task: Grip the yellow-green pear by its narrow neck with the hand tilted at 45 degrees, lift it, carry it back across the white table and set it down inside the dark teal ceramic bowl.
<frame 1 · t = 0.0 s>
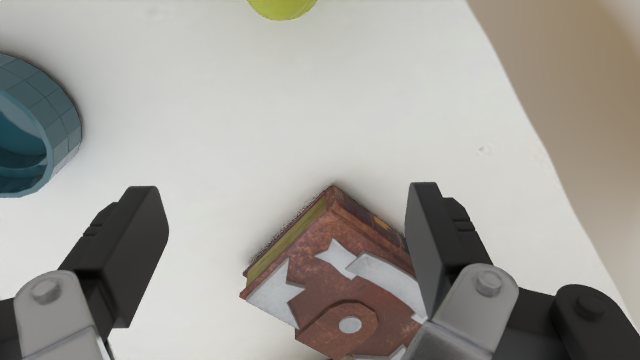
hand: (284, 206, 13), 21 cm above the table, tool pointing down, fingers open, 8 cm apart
bowl: (18, 112, 34), on the table
book: (361, 277, 46), on the table
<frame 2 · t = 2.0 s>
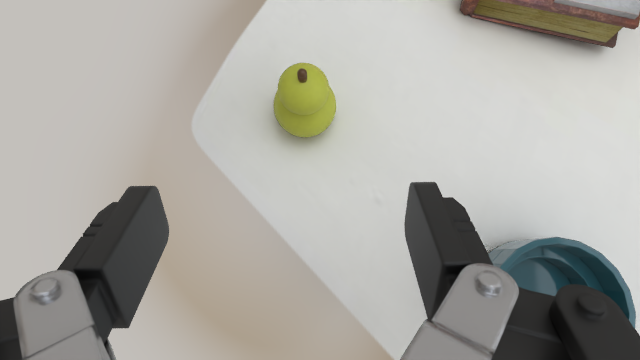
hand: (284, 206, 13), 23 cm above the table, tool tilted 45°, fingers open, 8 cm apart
bowl: (528, 302, 34), on the table
pear: (305, 116, 37), on the table
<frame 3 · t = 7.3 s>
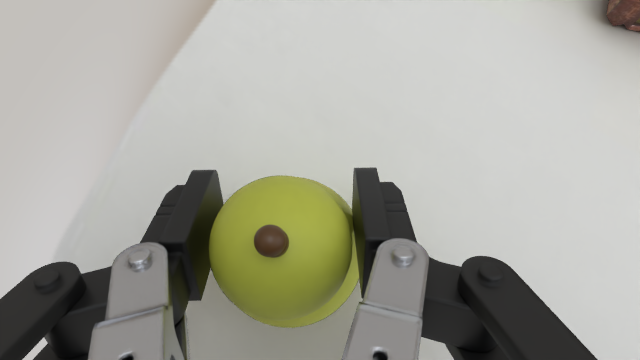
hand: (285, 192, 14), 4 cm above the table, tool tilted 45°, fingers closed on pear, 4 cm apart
pear: (294, 251, 17), on the table, touching gripper
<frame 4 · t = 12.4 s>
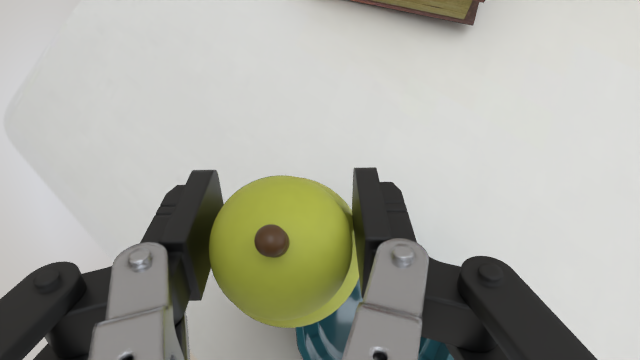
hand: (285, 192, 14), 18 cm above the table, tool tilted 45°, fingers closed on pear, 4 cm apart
bowl: (368, 311, 31), on the table
pear: (294, 251, 17), point 14 cm above the table, touching gripper
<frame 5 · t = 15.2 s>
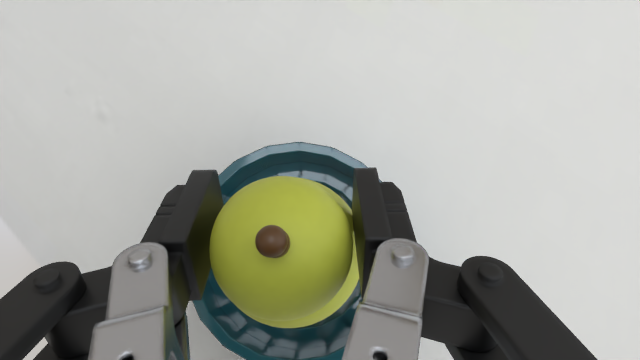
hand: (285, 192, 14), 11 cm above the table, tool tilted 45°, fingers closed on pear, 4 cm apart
bowl: (301, 252, 24), on the table
pear: (294, 252, 17), point 7 cm above the table, touching gripper
when the fingers open (5 cm above the table, at t = 17.4 s): pear stays where it is, resting on bowl.
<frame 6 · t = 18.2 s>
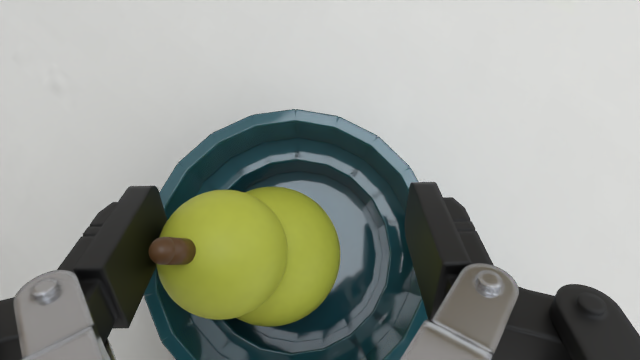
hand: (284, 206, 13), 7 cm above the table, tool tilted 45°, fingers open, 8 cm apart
bowl: (298, 253, 19), on the table
pear: (297, 255, 18), point 1 cm above the table, tilted 19°, touching bowl, gripper
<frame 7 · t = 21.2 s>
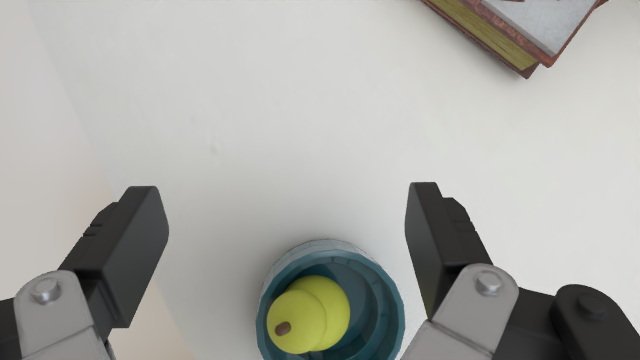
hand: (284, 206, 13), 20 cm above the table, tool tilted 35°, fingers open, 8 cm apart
bowl: (324, 301, 33), on the table
pear: (324, 306, 32), point 1 cm above the table, tilted 26°, touching bowl
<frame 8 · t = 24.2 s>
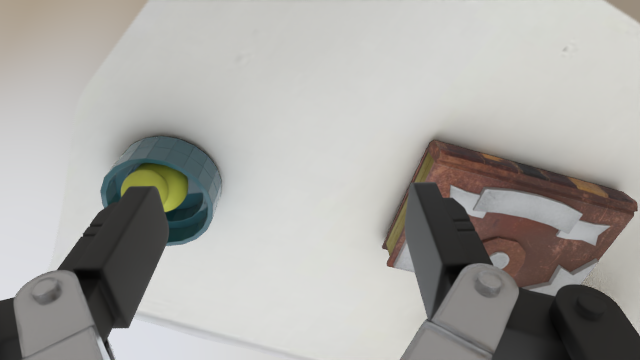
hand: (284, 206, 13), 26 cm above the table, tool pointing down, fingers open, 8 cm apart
bowl: (172, 177, 43), on the table
pear: (169, 181, 43), point 1 cm above the table, tilted 26°, touching bowl
book: (492, 216, 47), on the table
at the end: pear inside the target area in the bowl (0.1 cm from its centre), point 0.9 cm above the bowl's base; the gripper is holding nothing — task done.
